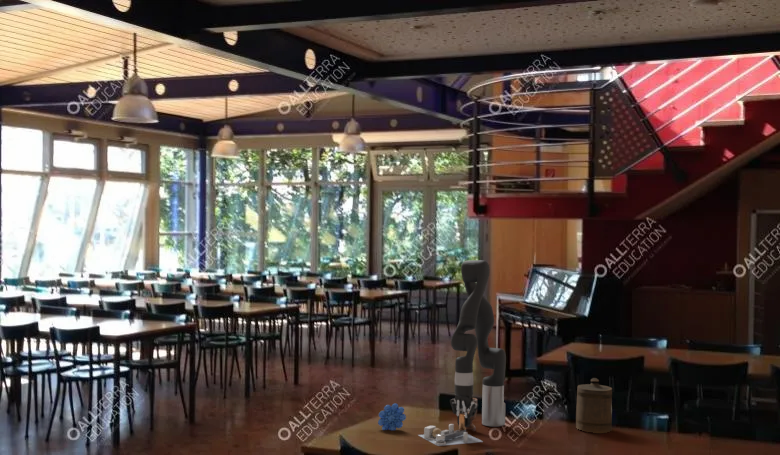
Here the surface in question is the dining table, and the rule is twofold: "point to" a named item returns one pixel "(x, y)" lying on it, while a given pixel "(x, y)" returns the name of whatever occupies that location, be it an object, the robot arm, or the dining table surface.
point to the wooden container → (594, 407)
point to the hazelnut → (436, 432)
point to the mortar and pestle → (472, 418)
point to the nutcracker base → (457, 440)
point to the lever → (446, 435)
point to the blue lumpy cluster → (391, 417)
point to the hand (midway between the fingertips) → (463, 425)
